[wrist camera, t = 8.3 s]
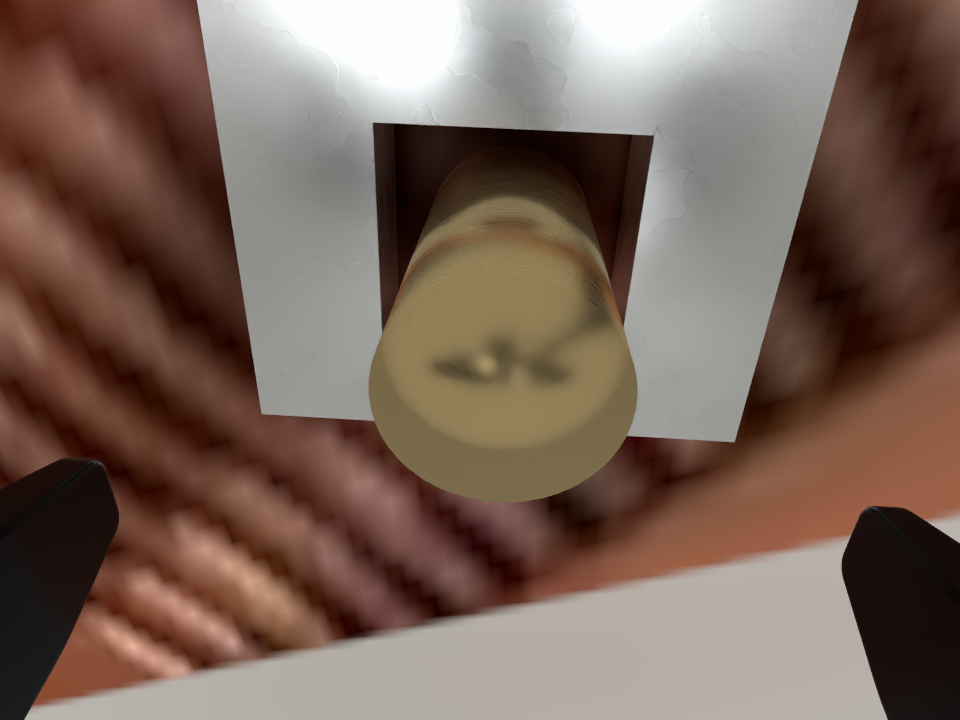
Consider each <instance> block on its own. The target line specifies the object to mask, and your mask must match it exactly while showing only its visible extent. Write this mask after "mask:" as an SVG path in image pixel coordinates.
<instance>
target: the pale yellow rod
mask: <svg viewBox="0 0 960 720" xmlns="http://www.w3.org/2000/svg"><path fill="white" fill-rule="evenodd" d="M368 393H369V401H370V408H371V411H372V414H373V418H374V421H375V424H376V426H377V428H378V430H379V432H380V435H381V436H382V438H383V439H384V441H385V443H386V444H387V446H388V447H389V448H390V450H391V451H392V452H393V453H394V454H395V456H396V457H397V458H398V459H399V460H400V461H401V462H402V463H403V464H404V465H405V466H406V467H407V468H408V469H410V470H411V471H412V472H414V473H415V474H416V475H418V476H419V477H420V478H422V479H424V480H425V481H427V482H429V483H431V484H432V485H434V486H436V487H438V488H441V489H443V490H445V491H447V492H450V493H453V494H456V495H459V496H462V497H466V498H470V499H475V500H480V501H488V502H523V501H530V500H536V499H541V498H545V497H548V496H552V495H555V494H558V493H560V492H563V491H565V490H568V489H570V488H572V487H574V486H576V485H578V484H579V483H581V482H583V481H585V480H586V479H588V478H589V477H591V476H592V475H593V474H595V473H596V472H597V471H599V470H600V469H601V468H602V467H603V466H604V465H605V464H606V463H607V462H608V461H609V460H610V459H611V458H612V457H613V455H614V454H615V453H616V452H617V451H618V449H619V448H620V446H621V445H622V443H623V441H624V440H625V438H626V437H627V434H628V432H629V430H630V427H631V425H632V423H633V419H634V415H635V411H636V406H637V397H638V388H637V376H636V372H635V367H634V363H633V359H632V356H631V352H630V349H629V345H628V342H627V339H626V335H625V332H624V328H623V325H622V322H621V318H620V315H619V311H618V308H617V304H616V301H615V298H614V294H613V291H612V287H611V284H610V280H609V277H608V274H607V270H606V267H605V263H604V260H603V257H602V253H601V250H600V246H599V243H598V239H597V236H596V233H595V229H594V226H593V222H592V219H591V215H590V212H589V209H588V205H587V202H586V199H585V196H584V194H583V191H582V189H581V187H580V185H579V183H578V182H577V180H576V179H575V178H574V176H573V175H572V173H571V172H570V171H569V170H568V169H567V168H566V167H565V166H564V165H562V164H561V163H560V162H559V161H557V160H556V159H555V158H553V157H551V156H549V155H548V154H546V153H543V152H541V151H538V150H536V149H532V148H528V147H523V146H515V145H512V146H498V147H492V148H488V149H485V150H482V151H480V152H477V153H475V154H473V155H471V156H469V157H468V158H466V159H465V160H463V161H462V162H461V163H459V164H458V165H457V166H456V167H455V168H454V169H453V170H452V171H451V172H450V173H449V174H448V175H447V177H446V178H445V179H444V181H443V182H442V184H441V186H440V188H439V190H438V192H437V194H436V196H435V199H434V201H433V204H432V207H431V209H430V212H429V214H428V217H427V219H426V222H425V225H424V227H423V230H422V232H421V235H420V237H419V240H418V243H417V245H416V248H415V250H414V253H413V256H412V258H411V261H410V263H409V266H408V268H407V271H406V274H405V276H404V279H403V281H402V284H401V286H400V289H399V292H398V294H397V297H396V299H395V302H394V305H393V307H392V310H391V312H390V315H389V317H388V320H387V323H386V325H385V328H384V330H383V333H382V336H381V338H380V341H379V343H378V346H377V348H376V351H375V354H374V357H373V360H372V363H371V368H370V374H369V390H368Z"/></svg>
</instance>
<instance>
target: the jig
mask: <svg viewBox="0 0 960 720" xmlns="http://www.w3.org/2000/svg"><path fill="white" fill-rule="evenodd" d="M857 3H858V0H197V4H198V10H199V16H200V23H201V29H202V36H203V42H204V48H205V55H206V61H207V68H208V74H209V80H210V87H211V93H212V99H213V106H214V112H215V119H216V125H217V131H218V138H219V144H220V151H221V157H222V163H223V170H224V176H225V183H226V189H227V195H228V202H229V208H230V214H231V221H232V227H233V234H234V240H235V246H236V253H237V259H238V266H239V272H240V278H241V285H242V291H243V297H244V304H245V310H246V317H247V323H248V329H249V336H250V342H251V349H252V355H253V361H254V368H255V374H256V381H257V387H258V393H259V400H260V406H261V412H262V414H269V415H286V416H303V417H320V418H337V419H354V420H370V421H374V418H373V414H372V411H371V408H370V401H369V393H368V390H369V374H370V368H371V363H372V360H373V357H374V354H375V351H376V348H377V346H378V343H379V341H380V338H381V336H382V333H383V330H384V328H385V325H386V323H387V320H388V317H389V315H390V312H391V310H392V307H393V305H394V302H395V299H396V297H397V294H398V292H399V278H398V243H397V209H396V174H395V139H394V123H397V124H418V125H440V126H461V127H483V128H504V129H526V130H547V131H569V132H591V133H612V134H632V141H631V148H630V154H629V161H628V168H627V175H626V182H625V189H624V196H623V203H622V210H621V217H620V224H619V231H618V238H617V245H616V252H615V259H614V266H613V273H612V280H611V287H612V291H613V294H614V298H615V301H616V304H617V308H618V311H619V315H620V318H621V322H622V325H623V328H624V332H625V335H626V339H627V342H628V345H629V349H630V352H631V356H632V359H633V363H634V367H635V372H636V376H637V388H638V397H637V406H636V411H635V415H634V419H633V423H632V425H631V427H630V430H629V432H628V434H627V436H640V437H657V438H674V439H691V440H707V441H724V442H735V438H736V435H737V431H738V428H739V424H740V421H741V417H742V413H743V410H744V406H745V403H746V399H747V396H748V392H749V388H750V385H751V381H752V378H753V374H754V371H755V367H756V363H757V360H758V356H759V353H760V349H761V346H762V342H763V338H764V335H765V331H766V328H767V324H768V321H769V317H770V313H771V310H772V306H773V303H774V299H775V296H776V292H777V288H778V285H779V281H780V278H781V274H782V271H783V267H784V264H785V260H786V256H787V253H788V249H789V246H790V242H791V239H792V235H793V231H794V228H795V224H796V221H797V217H798V214H799V210H800V206H801V203H802V199H803V196H804V192H805V189H806V185H807V181H808V178H809V174H810V171H811V167H812V164H813V160H814V156H815V153H816V149H817V146H818V142H819V139H820V135H821V131H822V128H823V124H824V121H825V117H826V114H827V110H828V106H829V103H830V99H831V96H832V92H833V89H834V85H835V81H836V78H837V74H838V71H839V67H840V64H841V60H842V56H843V53H844V49H845V46H846V42H847V39H848V35H849V31H850V28H851V24H852V21H853V17H854V14H855V10H856V6H857Z"/></svg>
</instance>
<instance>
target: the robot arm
mask: <svg viewBox="0 0 960 720" xmlns="http://www.w3.org/2000/svg"><path fill="white" fill-rule="evenodd" d="M118 523H119V511H118V507H117V504H116V500H115V497H114V494H113V491H112V488H111V484H110V481H109V478H108V475H107V471H106V469H105V467H104V465H103V464H102V463H101V462H100V461H97V460H95V459H82V458H63V459H60V460H58V461H55V462H53V463H51V464H49V465H47V466H45V467H43V468H41V469H39V470H37V471H35V472H33V473H31V474H29V475H27V476H25V477H23V478H21V479H19V480H17V481H15V482H13V483H11V484H9V485H7V486H5V487H3V488H1V489H0V720H24V719H25V717H26V716H27V714H28V712H29V710H30V709H31V707H32V705H33V703H34V701H35V700H36V698H37V696H38V694H39V693H40V691H41V689H42V687H43V686H44V684H45V682H46V680H47V679H48V677H49V675H50V673H51V672H52V670H53V668H54V666H55V664H56V662H57V660H58V659H59V657H60V655H61V653H62V651H63V649H64V647H65V645H66V643H67V641H68V639H69V637H70V635H71V633H72V631H73V629H74V626H75V624H76V622H77V620H78V617H79V615H80V613H81V611H82V608H83V606H84V604H85V602H86V599H87V597H88V595H89V592H90V590H91V588H92V586H93V583H94V581H95V579H96V577H97V574H98V572H99V570H100V568H101V565H102V563H103V561H104V559H105V556H106V554H107V552H108V549H109V547H110V545H111V543H112V540H113V538H114V536H115V534H116V531H117V528H118ZM842 575H843V579H844V583H845V586H846V589H847V593H848V596H849V599H850V603H851V606H852V609H853V612H854V616H855V619H856V623H857V626H858V629H859V632H860V636H861V639H862V642H863V646H864V649H865V652H866V656H867V659H868V662H869V666H870V669H871V672H872V676H873V679H874V682H875V685H876V688H877V691H878V694H879V697H880V700H881V703H882V705H883V708H884V711H885V713H886V716H887V719H888V720H960V543H958V542H957V541H955V540H954V539H952V538H951V537H949V536H948V535H946V534H945V533H943V532H942V531H940V530H938V529H937V528H935V527H934V526H932V525H931V524H929V523H928V522H926V521H925V520H923V519H922V518H920V517H919V516H917V515H915V514H914V513H912V512H911V511H909V510H907V509H904V508H899V507H883V506H871V507H867V508H866V509H865V510H863V511H862V513H861V514H860V516H859V519H858V521H857V523H856V526H855V528H854V530H853V533H852V535H851V537H850V540H849V542H848V544H847V547H846V549H845V552H844V554H843V558H842Z"/></svg>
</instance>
